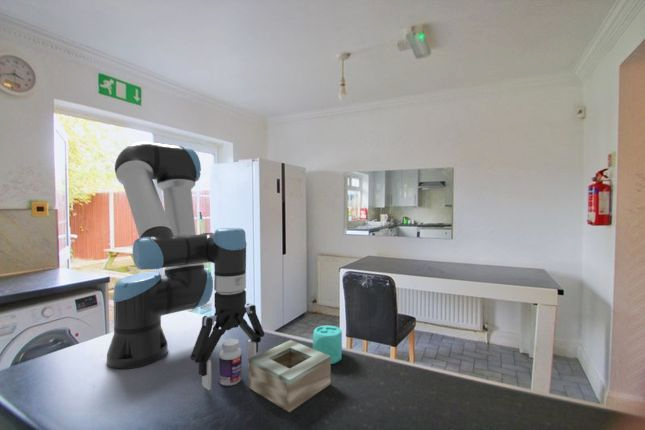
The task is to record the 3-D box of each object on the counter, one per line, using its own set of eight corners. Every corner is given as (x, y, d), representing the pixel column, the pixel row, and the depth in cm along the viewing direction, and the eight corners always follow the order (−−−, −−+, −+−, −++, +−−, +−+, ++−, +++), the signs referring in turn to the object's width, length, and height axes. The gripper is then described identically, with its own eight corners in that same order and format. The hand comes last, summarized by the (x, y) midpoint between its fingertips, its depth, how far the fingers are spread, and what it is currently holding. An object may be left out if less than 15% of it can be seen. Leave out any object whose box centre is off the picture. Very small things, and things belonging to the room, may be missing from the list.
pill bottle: (235, 387, 75) (235, 347, 75) (214, 385, 76) (214, 345, 76) (245, 375, 81) (245, 338, 80) (226, 373, 82) (226, 336, 81)
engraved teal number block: (341, 365, 86) (341, 336, 86) (312, 364, 87) (312, 335, 87) (341, 351, 94) (341, 325, 94) (314, 350, 95) (314, 324, 94)
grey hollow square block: (248, 387, 75) (248, 358, 75) (290, 365, 86) (290, 339, 86) (289, 412, 66) (289, 380, 66) (330, 383, 77) (330, 355, 77)
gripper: (190, 305, 66) (191, 405, 67) (277, 283, 85) (277, 362, 85) (173, 298, 71) (174, 392, 71) (259, 279, 90) (259, 353, 90)
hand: (230, 376), depth 78 cm, fingers open, 12 cm apart
